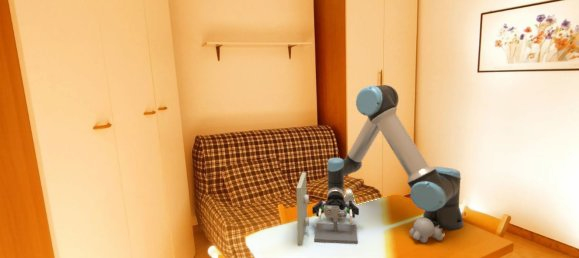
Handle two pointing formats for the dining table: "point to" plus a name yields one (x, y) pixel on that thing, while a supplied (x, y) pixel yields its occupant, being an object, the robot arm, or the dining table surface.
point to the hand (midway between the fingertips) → (335, 219)
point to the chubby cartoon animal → (425, 230)
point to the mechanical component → (335, 214)
